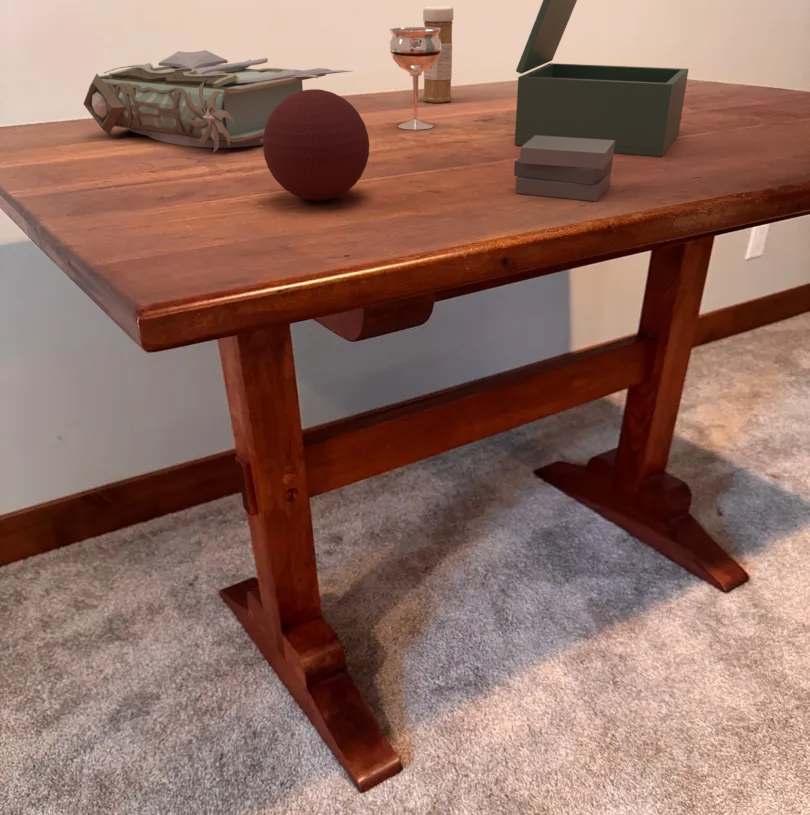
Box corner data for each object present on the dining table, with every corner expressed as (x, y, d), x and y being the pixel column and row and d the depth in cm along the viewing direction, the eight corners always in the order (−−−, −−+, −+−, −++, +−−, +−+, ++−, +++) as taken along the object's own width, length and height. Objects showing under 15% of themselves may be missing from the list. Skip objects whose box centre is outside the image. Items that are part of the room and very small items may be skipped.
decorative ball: (335, 180, 84) (330, 78, 79) (391, 200, 77) (389, 90, 72) (250, 197, 79) (238, 89, 74) (301, 220, 72) (292, 102, 67)
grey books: (613, 185, 81) (619, 139, 79) (599, 202, 75) (604, 154, 73) (530, 177, 84) (532, 133, 82) (510, 193, 79) (512, 146, 76)
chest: (678, 134, 102) (688, 68, 98) (661, 156, 91) (672, 84, 88) (544, 125, 109) (549, 63, 105) (514, 145, 98) (518, 76, 94)
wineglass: (420, 119, 113) (420, 26, 107) (450, 126, 108) (452, 29, 102) (381, 125, 110) (378, 29, 104) (410, 133, 105) (409, 32, 99)
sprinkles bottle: (418, 100, 128) (418, 6, 121) (444, 98, 129) (445, 5, 123) (430, 104, 124) (431, 7, 117) (457, 102, 126) (458, 6, 119)
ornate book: (81, 143, 106) (247, 160, 92) (63, 65, 102) (235, 70, 87) (203, 116, 123) (361, 127, 108) (193, 47, 118) (356, 49, 103)
